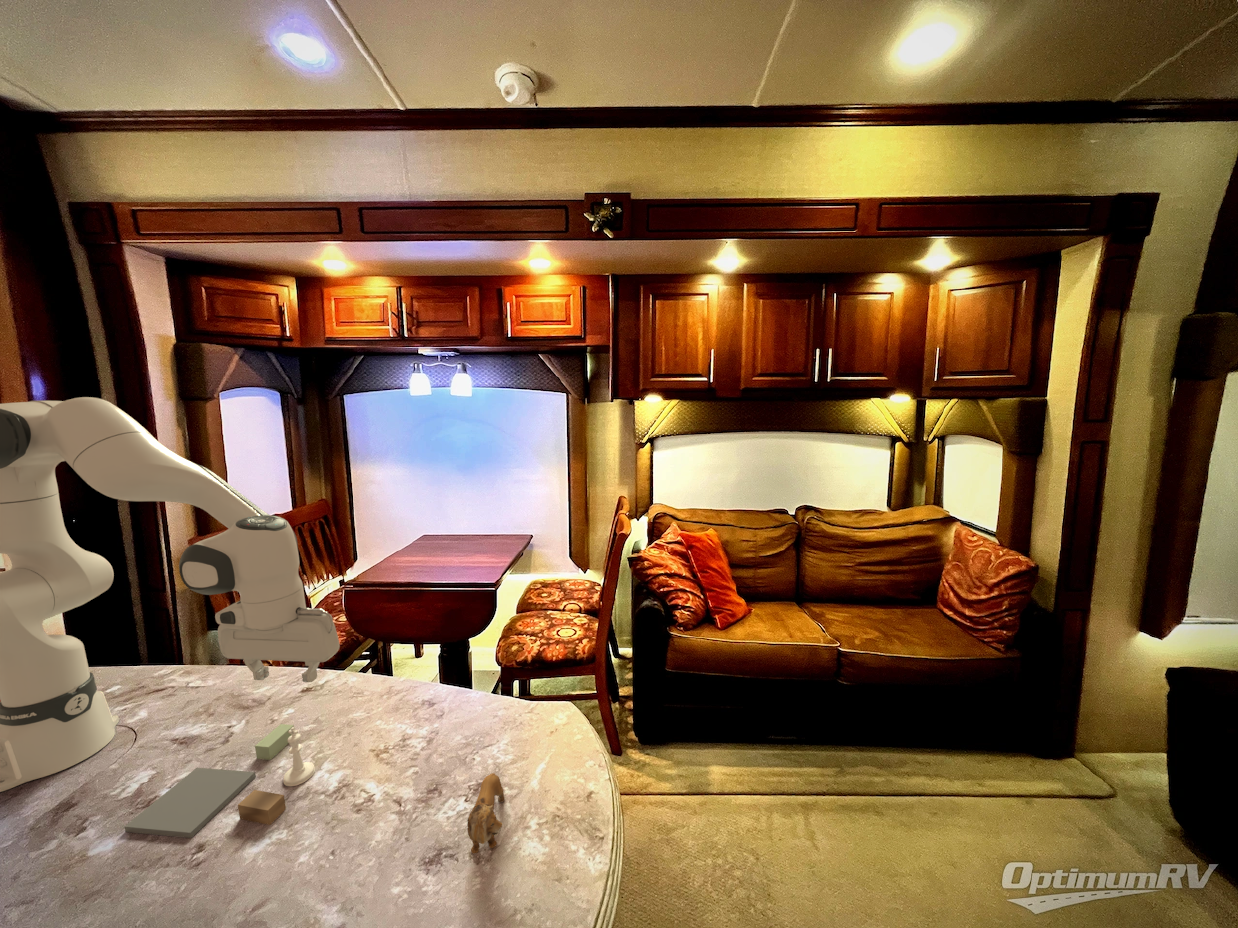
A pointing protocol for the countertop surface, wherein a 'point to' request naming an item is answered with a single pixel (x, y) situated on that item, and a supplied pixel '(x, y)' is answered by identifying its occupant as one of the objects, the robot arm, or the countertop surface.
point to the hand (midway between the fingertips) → (286, 679)
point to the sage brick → (273, 742)
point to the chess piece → (297, 762)
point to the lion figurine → (485, 814)
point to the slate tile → (191, 803)
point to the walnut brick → (262, 807)
